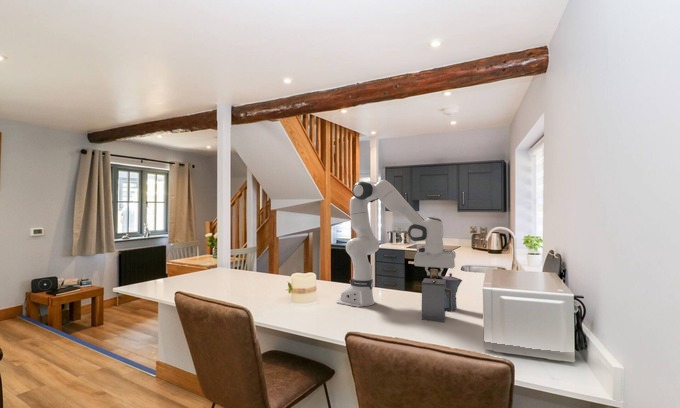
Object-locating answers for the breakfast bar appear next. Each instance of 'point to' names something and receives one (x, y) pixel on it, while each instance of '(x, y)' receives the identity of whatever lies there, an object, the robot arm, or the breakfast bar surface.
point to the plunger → (433, 274)
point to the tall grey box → (435, 300)
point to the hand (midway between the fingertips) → (434, 275)
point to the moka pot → (452, 284)
